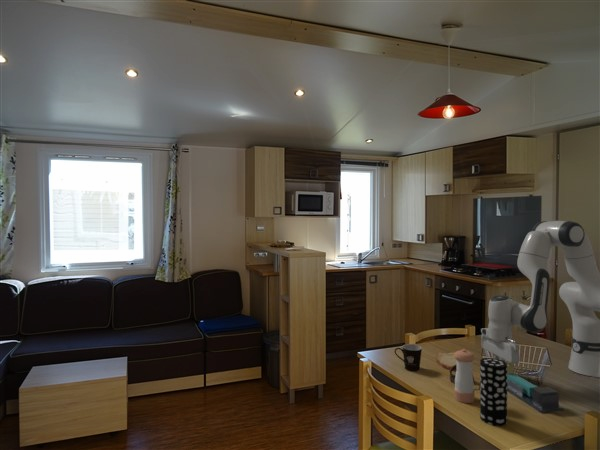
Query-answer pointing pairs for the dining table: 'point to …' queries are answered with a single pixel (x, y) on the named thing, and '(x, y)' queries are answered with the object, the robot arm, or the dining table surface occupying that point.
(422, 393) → the dining table surface
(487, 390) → the white-spotted black cylinder
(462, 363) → the pepper shaker
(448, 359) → the bread slice
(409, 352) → the coffee mug
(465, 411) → the dining table surface
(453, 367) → the pottery mug
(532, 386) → the teal yellow slider block
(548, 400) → the guide
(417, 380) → the dining table surface
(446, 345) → the dining table surface
